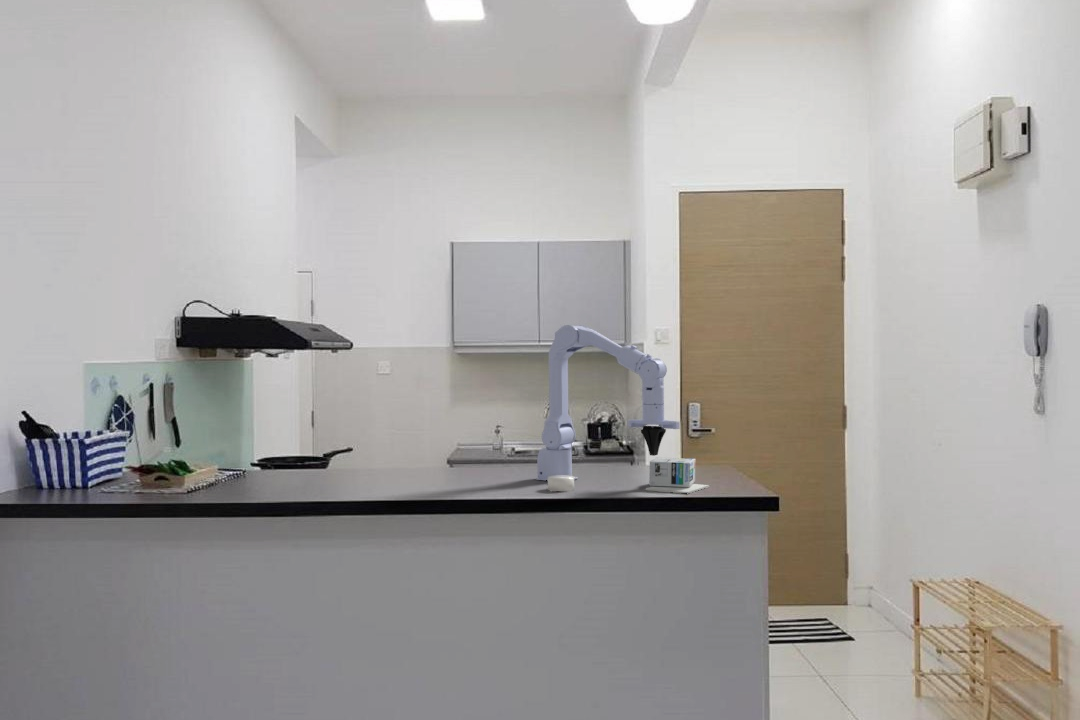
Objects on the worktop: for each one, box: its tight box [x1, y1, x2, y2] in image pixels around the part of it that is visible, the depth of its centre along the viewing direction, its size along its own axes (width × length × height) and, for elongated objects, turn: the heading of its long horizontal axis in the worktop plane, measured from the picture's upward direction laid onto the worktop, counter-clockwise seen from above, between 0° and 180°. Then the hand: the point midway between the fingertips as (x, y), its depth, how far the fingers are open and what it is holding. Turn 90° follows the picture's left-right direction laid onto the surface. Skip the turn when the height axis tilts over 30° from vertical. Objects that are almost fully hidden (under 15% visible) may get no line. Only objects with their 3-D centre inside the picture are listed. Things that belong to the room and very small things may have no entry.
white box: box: [645, 483, 710, 495], centre depth 231 cm, size 12×13×1 cm
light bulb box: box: [648, 457, 697, 488], centre depth 235 cm, size 11×7×11 cm
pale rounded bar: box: [547, 475, 575, 492], centre depth 232 cm, size 7×7×4 cm
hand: (653, 455), depth 235 cm, fingers closed
